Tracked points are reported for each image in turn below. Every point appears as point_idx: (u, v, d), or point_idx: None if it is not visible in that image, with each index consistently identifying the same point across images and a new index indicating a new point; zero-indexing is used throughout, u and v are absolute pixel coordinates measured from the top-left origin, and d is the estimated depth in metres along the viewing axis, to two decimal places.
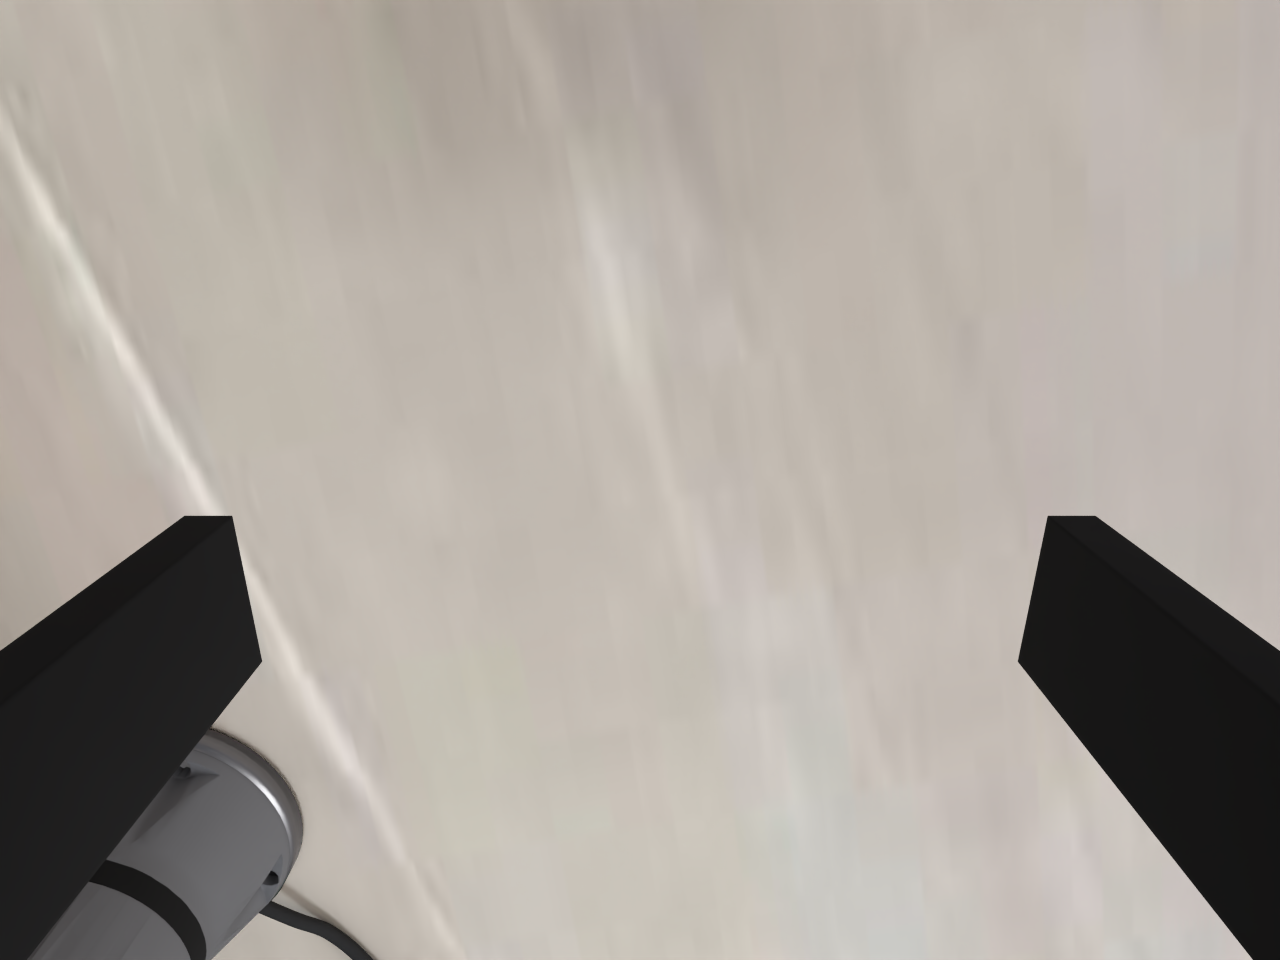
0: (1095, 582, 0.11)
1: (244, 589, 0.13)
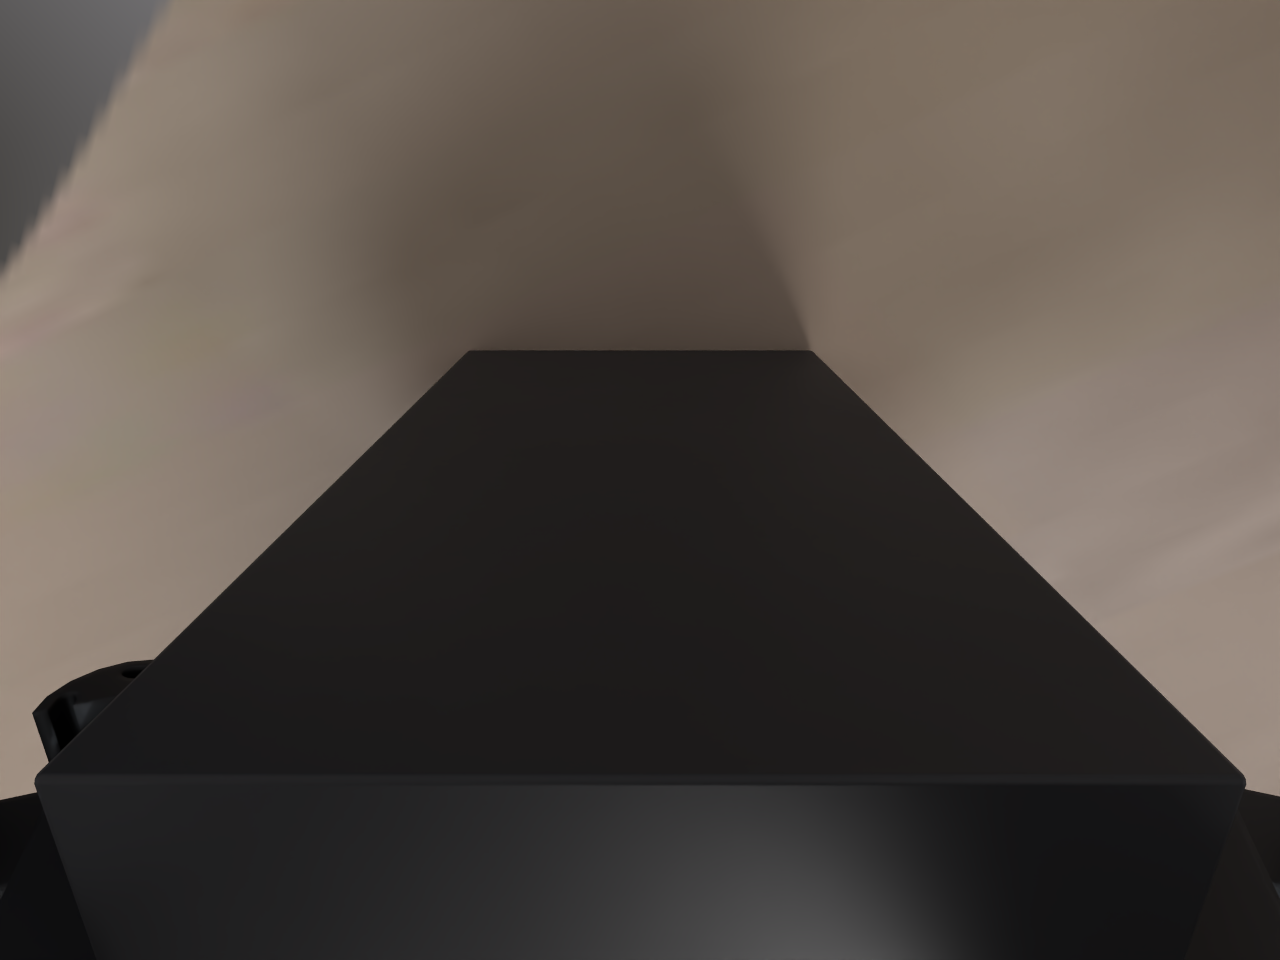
0: None
1: None
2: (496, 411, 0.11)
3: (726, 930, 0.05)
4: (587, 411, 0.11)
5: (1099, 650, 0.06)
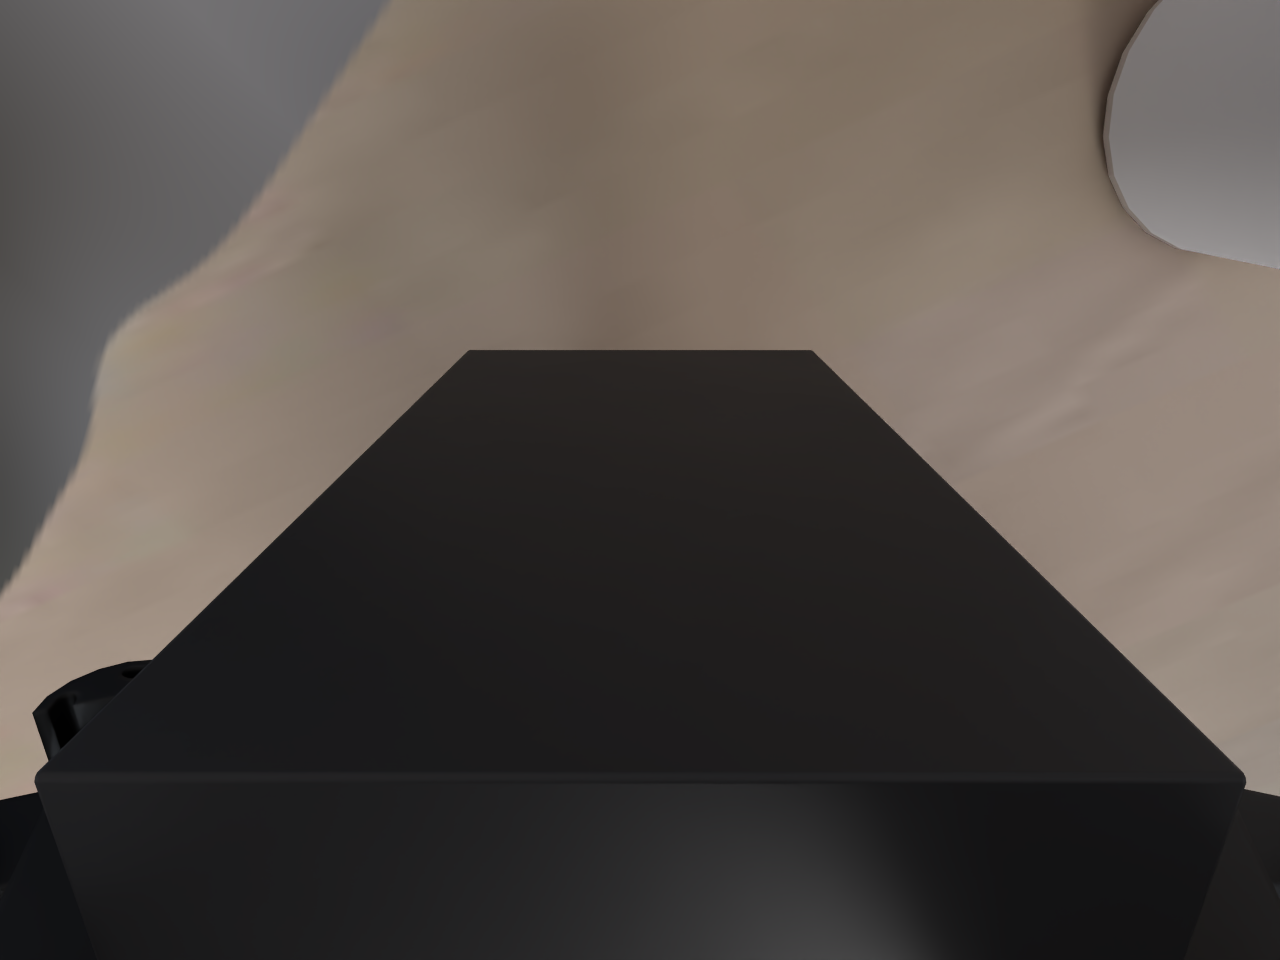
0: None
1: None
2: (495, 410, 0.11)
3: (726, 928, 0.05)
4: (587, 410, 0.11)
5: (1099, 649, 0.06)
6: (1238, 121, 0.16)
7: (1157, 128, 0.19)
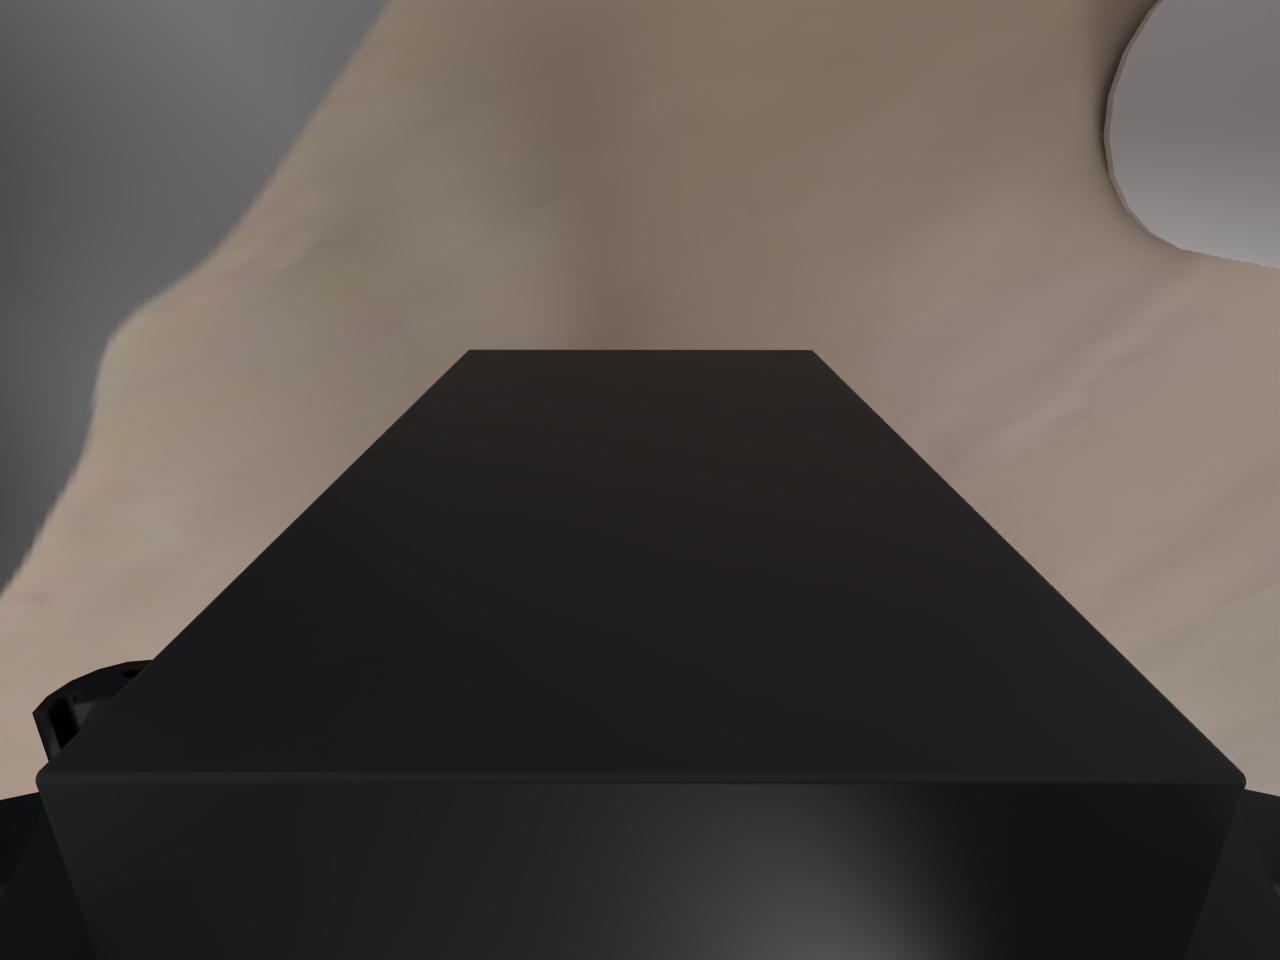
0: None
1: None
2: (496, 409, 0.11)
3: (726, 928, 0.05)
4: (587, 410, 0.11)
5: (1099, 649, 0.06)
6: (1238, 121, 0.16)
7: (1157, 128, 0.19)
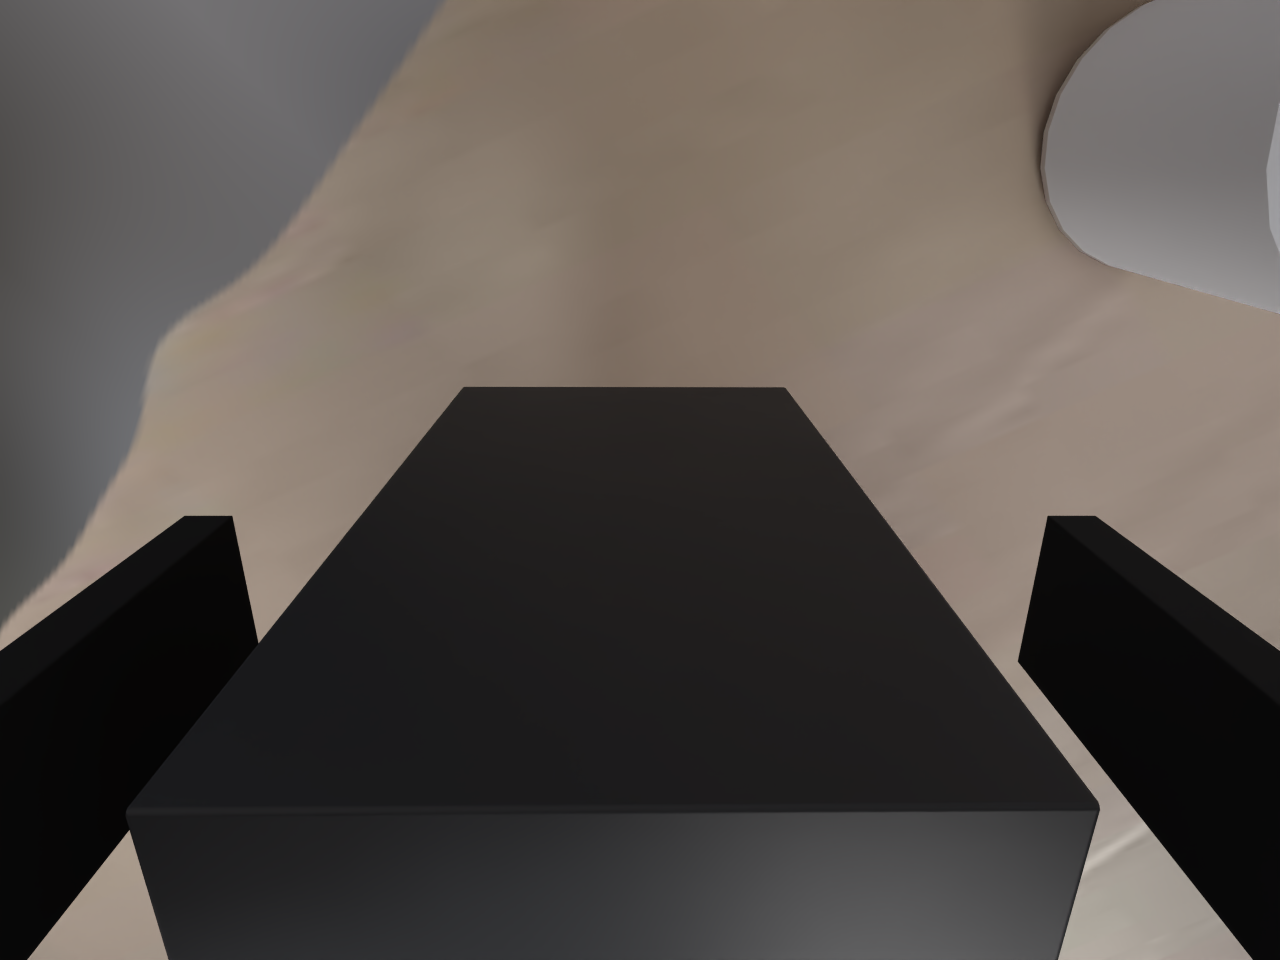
0: (1094, 582, 0.11)
1: (244, 590, 0.13)
2: (491, 454, 0.12)
3: (687, 930, 0.06)
4: (575, 454, 0.12)
5: (1002, 694, 0.07)
6: (1138, 164, 0.19)
7: (1080, 164, 0.22)
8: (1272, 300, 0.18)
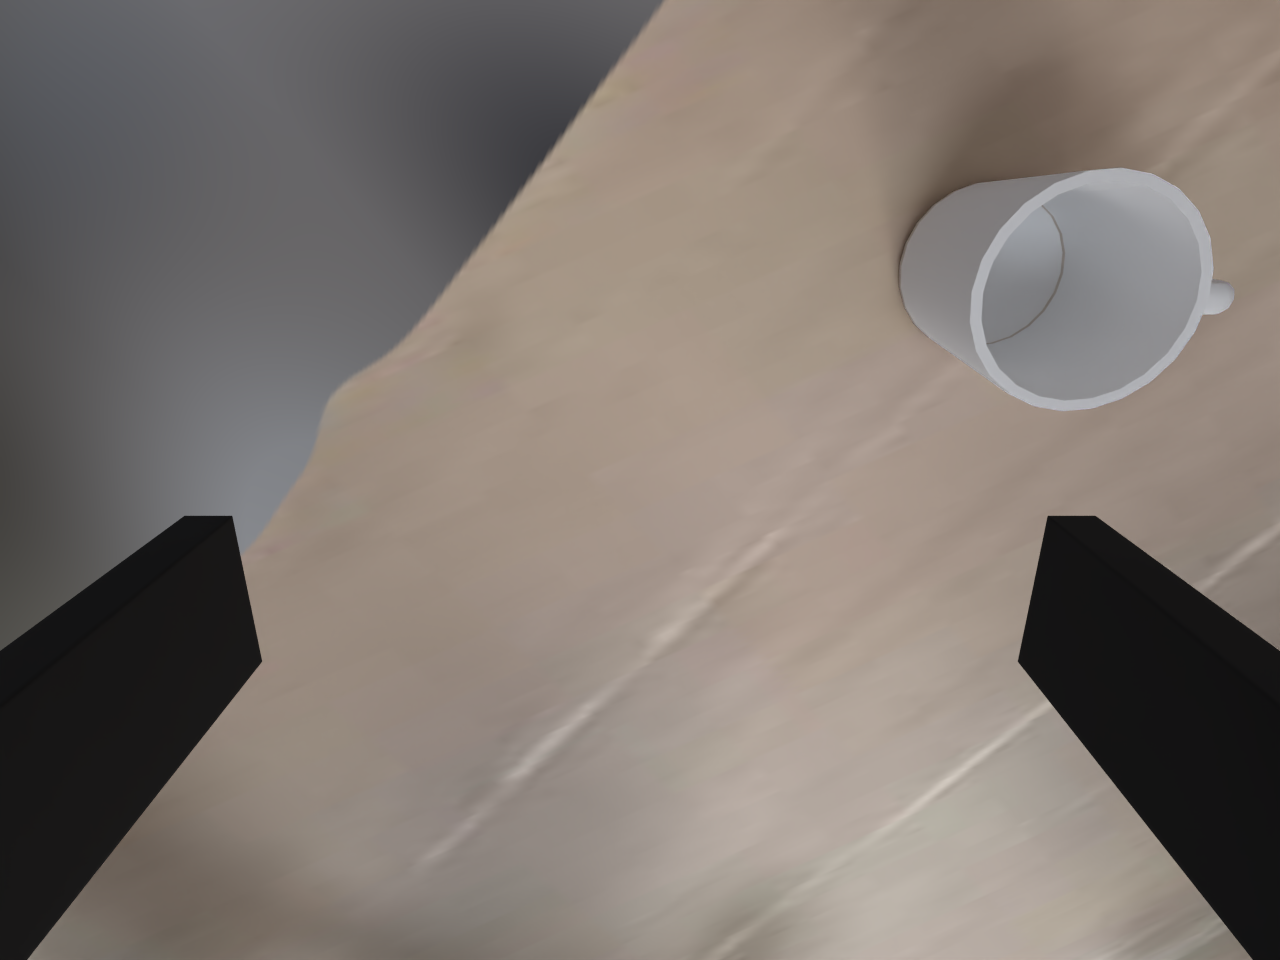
0: (1095, 582, 0.11)
1: (244, 590, 0.13)
2: None
3: None
4: None
5: None
6: (933, 301, 0.34)
7: (913, 291, 0.36)
8: (995, 384, 0.32)
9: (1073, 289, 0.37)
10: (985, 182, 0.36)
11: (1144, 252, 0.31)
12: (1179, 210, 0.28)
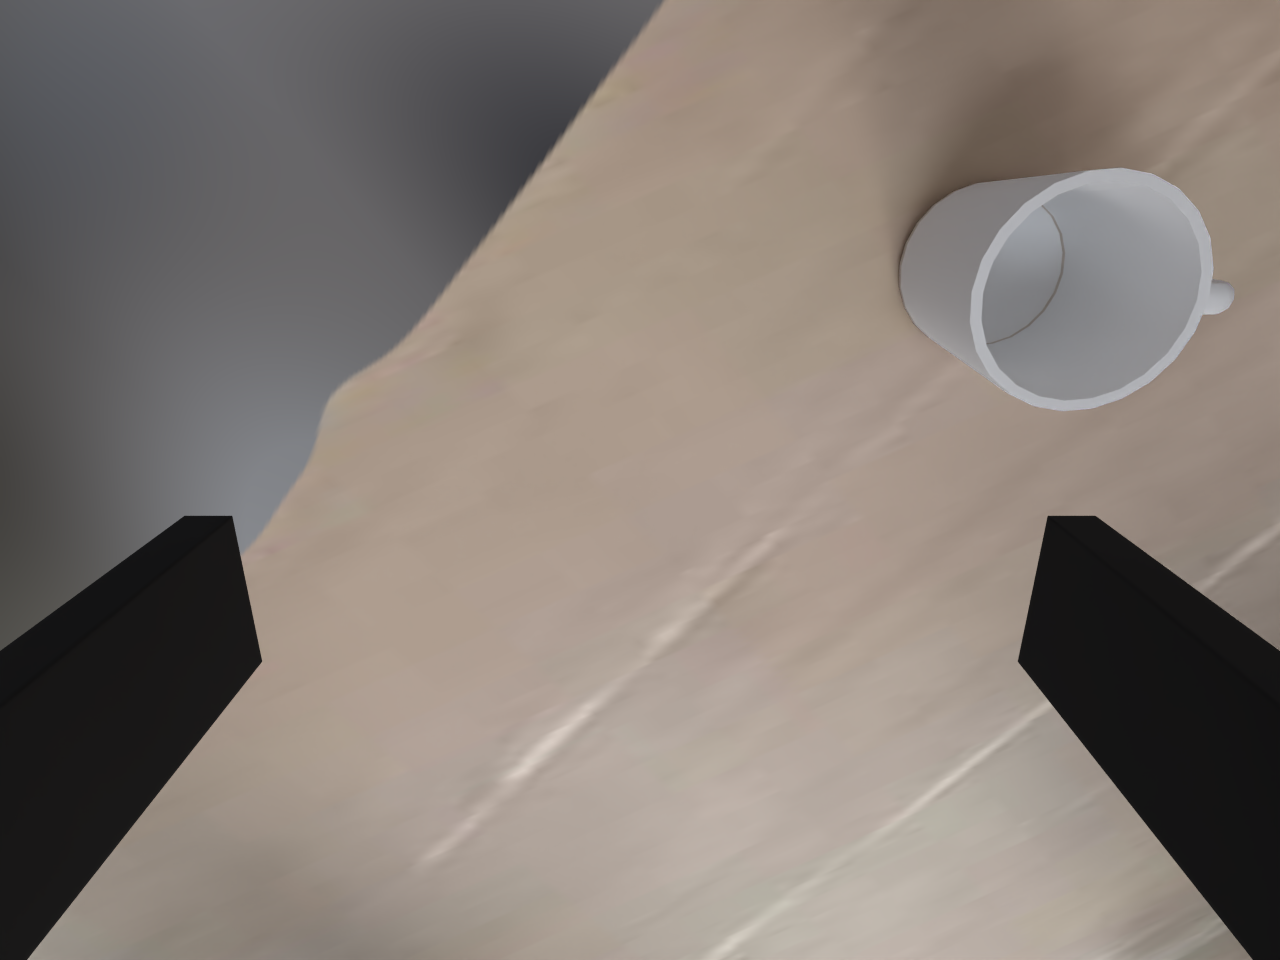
0: (1095, 582, 0.11)
1: (244, 590, 0.13)
2: None
3: None
4: None
5: None
6: (933, 301, 0.34)
7: (913, 291, 0.36)
8: (995, 384, 0.32)
9: (1073, 289, 0.37)
10: (985, 182, 0.36)
11: (1144, 252, 0.31)
12: (1179, 210, 0.28)
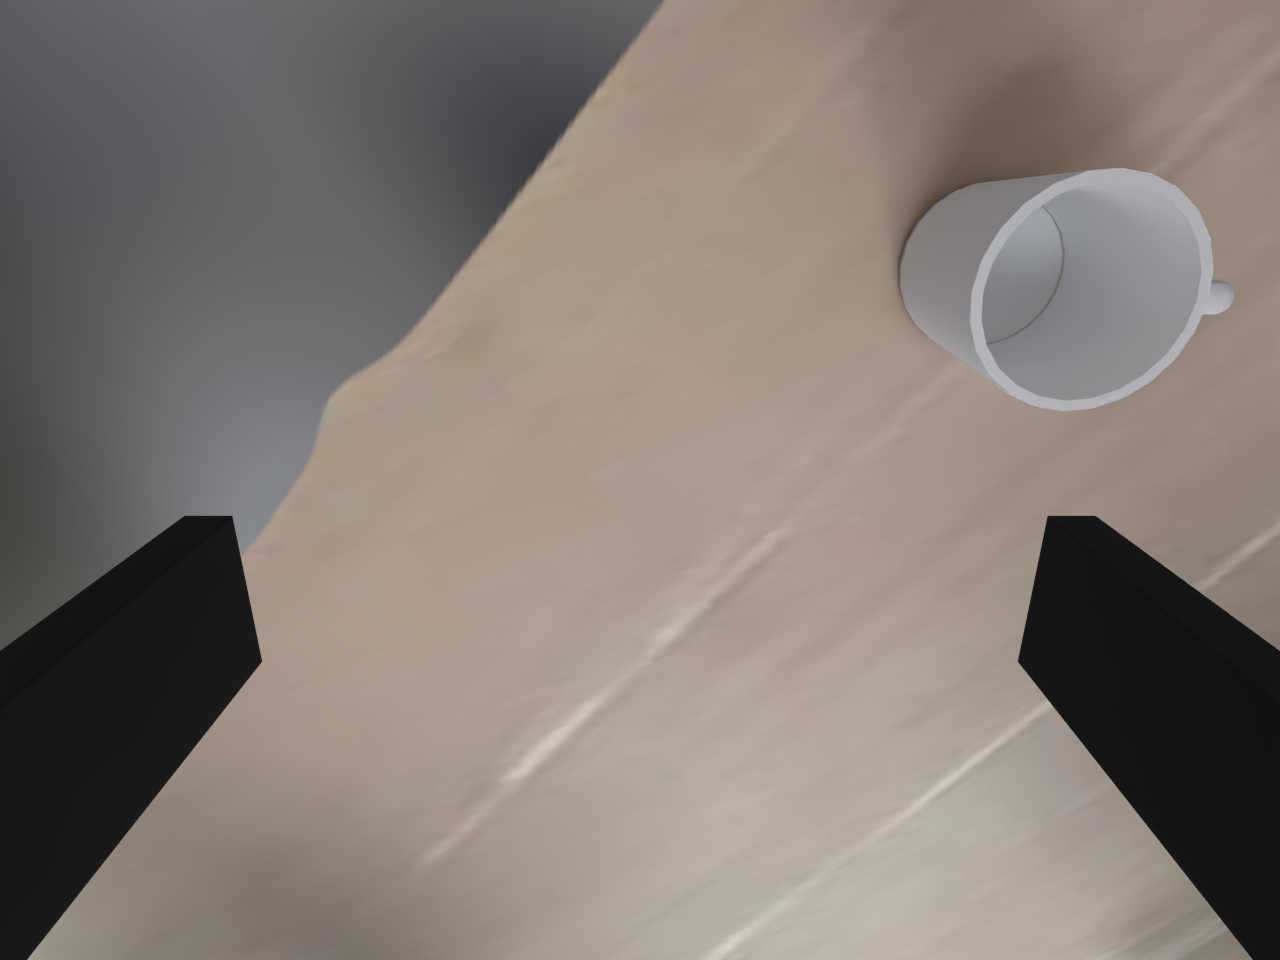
0: (1095, 582, 0.11)
1: (244, 590, 0.13)
2: None
3: None
4: None
5: None
6: (933, 301, 0.34)
7: (913, 291, 0.36)
8: (995, 384, 0.32)
9: (1073, 289, 0.37)
10: (985, 182, 0.36)
11: (1144, 252, 0.31)
12: (1179, 210, 0.28)
